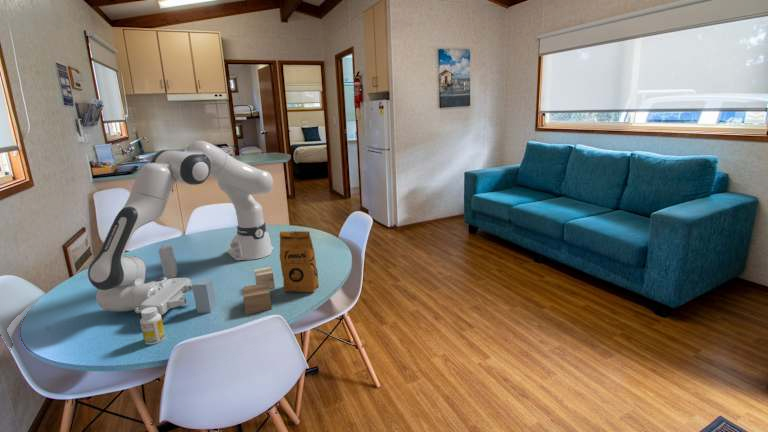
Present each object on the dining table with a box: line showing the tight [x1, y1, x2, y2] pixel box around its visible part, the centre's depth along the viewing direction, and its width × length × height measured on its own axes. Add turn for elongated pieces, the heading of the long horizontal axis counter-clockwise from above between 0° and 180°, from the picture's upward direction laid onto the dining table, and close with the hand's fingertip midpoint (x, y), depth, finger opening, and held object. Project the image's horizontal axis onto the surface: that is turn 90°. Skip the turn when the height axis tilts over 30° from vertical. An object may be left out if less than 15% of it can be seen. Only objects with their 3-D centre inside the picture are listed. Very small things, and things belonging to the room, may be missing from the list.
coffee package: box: [279, 230, 320, 293], centre depth 141 cm, size 10×12×22 cm
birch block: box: [253, 266, 276, 290], centre depth 147 cm, size 6×6×6 cm
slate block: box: [192, 278, 217, 314], centre depth 131 cm, size 4×4×10 cm
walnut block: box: [242, 283, 273, 315], centre depth 132 cm, size 8×8×6 cm
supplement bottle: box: [139, 307, 166, 346], centre depth 114 cm, size 5×5×10 cm
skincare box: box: [158, 244, 179, 279], centre depth 160 cm, size 6×4×12 cm
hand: (192, 295), depth 131 cm, fingers open, 8 cm apart
